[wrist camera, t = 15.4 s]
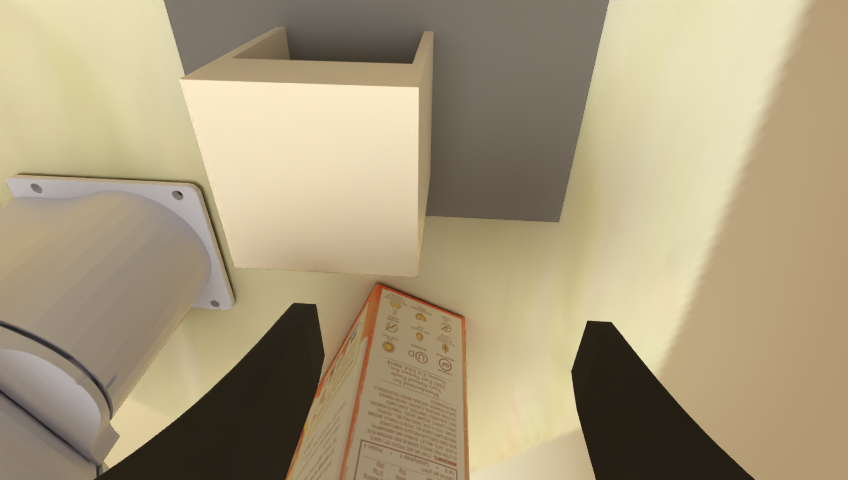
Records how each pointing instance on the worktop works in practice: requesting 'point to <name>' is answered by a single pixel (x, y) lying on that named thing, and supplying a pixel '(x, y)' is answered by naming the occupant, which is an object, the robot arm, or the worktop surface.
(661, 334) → the worktop surface
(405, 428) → the cracker box
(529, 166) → the mat
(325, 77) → the box
